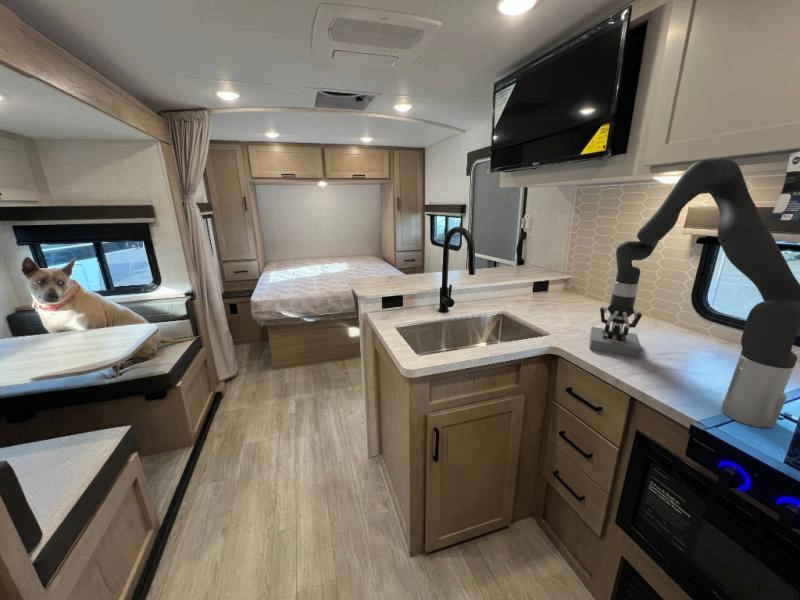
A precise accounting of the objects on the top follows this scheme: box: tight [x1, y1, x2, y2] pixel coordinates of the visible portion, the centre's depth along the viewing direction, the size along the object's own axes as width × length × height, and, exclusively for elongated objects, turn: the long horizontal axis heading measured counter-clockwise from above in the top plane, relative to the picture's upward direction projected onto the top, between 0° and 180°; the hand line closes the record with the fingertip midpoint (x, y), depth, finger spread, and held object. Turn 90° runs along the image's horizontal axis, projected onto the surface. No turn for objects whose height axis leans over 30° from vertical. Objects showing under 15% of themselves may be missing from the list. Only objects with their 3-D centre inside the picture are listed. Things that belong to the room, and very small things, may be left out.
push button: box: [604, 316, 626, 341], centre depth 126 cm, size 7×5×10 cm
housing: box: [589, 326, 642, 360], centre depth 128 cm, size 16×16×4 cm
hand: (615, 334), depth 126 cm, fingers closed on push button, 5 cm apart
